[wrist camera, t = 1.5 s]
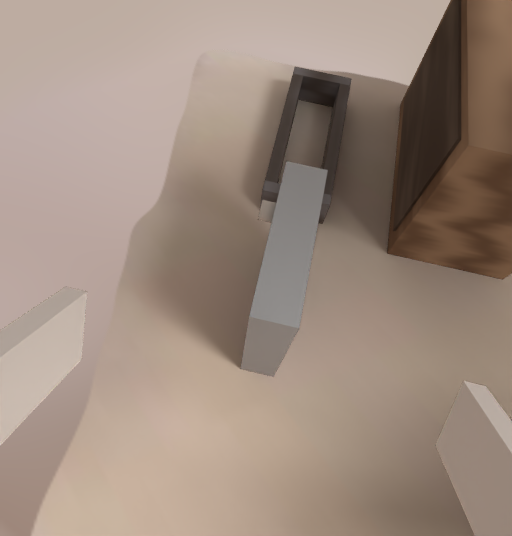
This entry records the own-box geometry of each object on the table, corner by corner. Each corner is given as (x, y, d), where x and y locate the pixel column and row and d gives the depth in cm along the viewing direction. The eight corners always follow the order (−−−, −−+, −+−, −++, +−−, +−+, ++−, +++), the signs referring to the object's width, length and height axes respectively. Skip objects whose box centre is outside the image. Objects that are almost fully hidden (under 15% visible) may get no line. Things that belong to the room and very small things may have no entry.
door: (296, 259, 42) (327, 170, 30) (273, 376, 37) (299, 328, 24) (256, 250, 42) (270, 157, 30) (227, 365, 37) (229, 311, 25)
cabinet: (494, 124, 53) (597, -7, 38) (502, 279, 43) (643, 183, 29) (293, 81, 53) (318, -63, 39) (256, 223, 44) (272, 102, 29)
